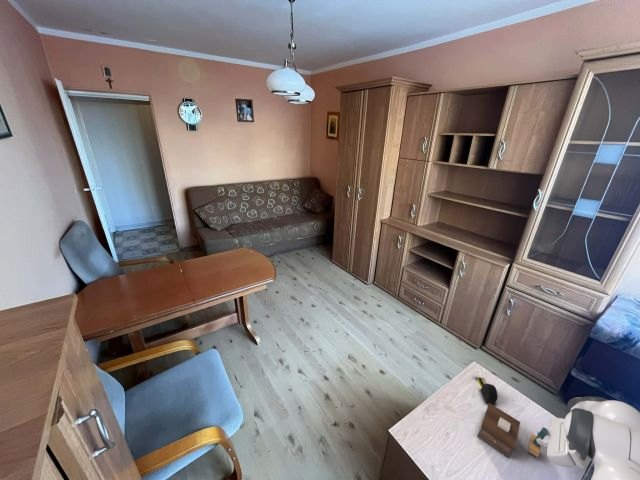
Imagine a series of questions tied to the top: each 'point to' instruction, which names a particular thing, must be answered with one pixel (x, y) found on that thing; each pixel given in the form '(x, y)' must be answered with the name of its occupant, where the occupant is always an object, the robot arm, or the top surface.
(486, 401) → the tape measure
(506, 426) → the felt pad
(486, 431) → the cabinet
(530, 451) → the brush
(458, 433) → the top surface
